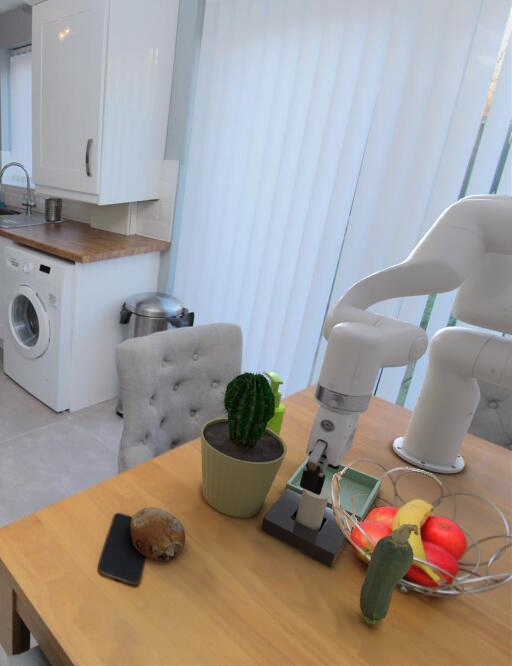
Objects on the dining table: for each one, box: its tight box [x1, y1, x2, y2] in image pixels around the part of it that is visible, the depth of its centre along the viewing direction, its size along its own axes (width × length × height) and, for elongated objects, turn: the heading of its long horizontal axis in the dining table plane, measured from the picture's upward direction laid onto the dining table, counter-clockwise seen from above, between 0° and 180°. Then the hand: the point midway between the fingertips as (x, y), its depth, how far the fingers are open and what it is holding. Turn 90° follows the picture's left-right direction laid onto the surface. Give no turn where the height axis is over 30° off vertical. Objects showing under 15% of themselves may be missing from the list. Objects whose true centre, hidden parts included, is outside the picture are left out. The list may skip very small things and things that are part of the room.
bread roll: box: [129, 506, 186, 562], centre depth 90 cm, size 10×10×8 cm
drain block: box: [260, 489, 348, 568], centre depth 91 cm, size 12×12×3 cm
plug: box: [294, 488, 329, 533], centre depth 90 cm, size 4×4×10 cm
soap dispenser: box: [263, 371, 286, 436], centre depth 111 cm, size 6×7×20 cm
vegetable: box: [359, 523, 421, 626], centre depth 72 cm, size 4×4×20 cm
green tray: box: [283, 455, 383, 522], centre depth 100 cm, size 15×13×3 cm
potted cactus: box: [200, 369, 288, 518], centre depth 95 cm, size 15×15×30 cm
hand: (319, 477), depth 87 cm, fingers open, 9 cm apart
